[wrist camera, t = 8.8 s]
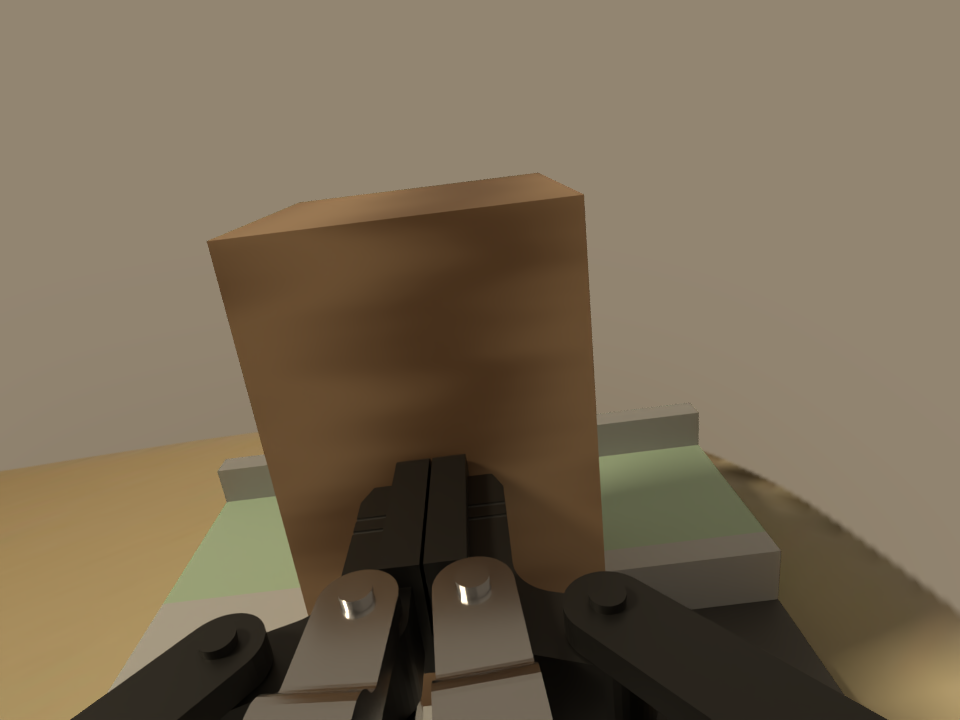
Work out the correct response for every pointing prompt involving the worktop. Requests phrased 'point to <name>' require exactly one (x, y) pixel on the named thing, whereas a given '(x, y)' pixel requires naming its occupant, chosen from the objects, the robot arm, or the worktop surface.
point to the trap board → (626, 532)
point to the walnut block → (423, 361)
